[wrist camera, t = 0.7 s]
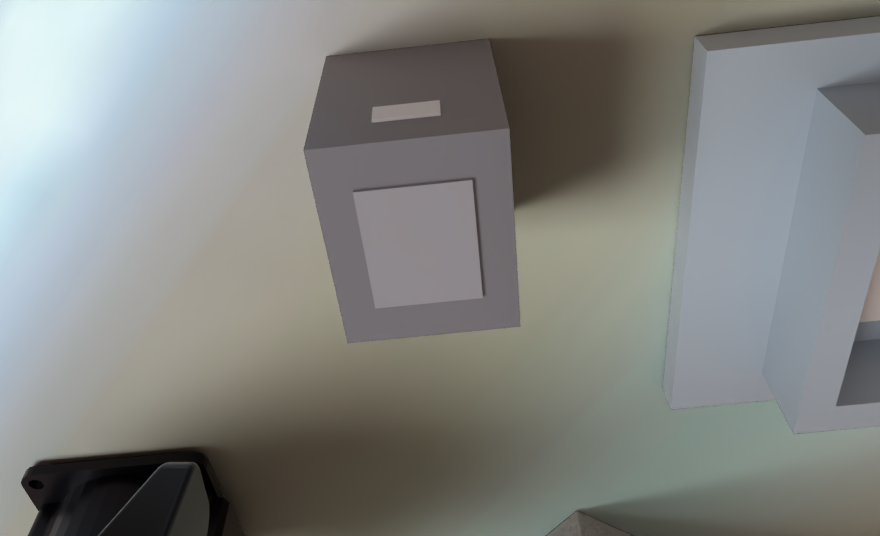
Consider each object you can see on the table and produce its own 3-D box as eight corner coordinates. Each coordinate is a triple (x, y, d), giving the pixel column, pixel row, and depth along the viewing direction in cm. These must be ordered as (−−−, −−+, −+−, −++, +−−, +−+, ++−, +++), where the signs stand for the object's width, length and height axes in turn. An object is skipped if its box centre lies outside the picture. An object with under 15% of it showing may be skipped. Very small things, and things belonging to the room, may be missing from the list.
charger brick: (359, 225, 22) (347, 345, 18) (326, 52, 19) (302, 148, 15) (500, 211, 22) (520, 328, 18) (488, 34, 19) (509, 126, 15)
